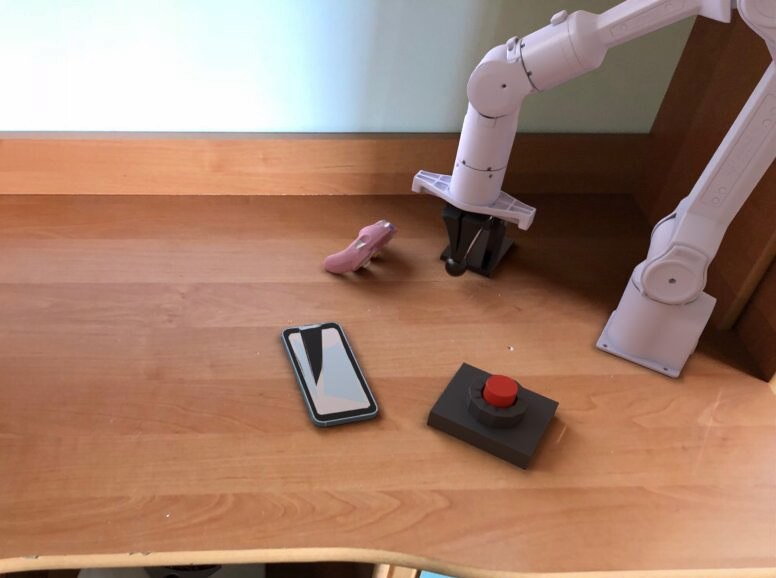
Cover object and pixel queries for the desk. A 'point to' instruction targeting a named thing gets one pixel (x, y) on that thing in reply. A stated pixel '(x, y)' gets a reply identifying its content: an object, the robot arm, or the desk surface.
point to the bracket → (487, 249)
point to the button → (500, 391)
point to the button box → (492, 417)
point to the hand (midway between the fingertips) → (458, 256)
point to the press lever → (460, 268)
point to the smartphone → (328, 374)
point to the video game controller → (361, 248)
